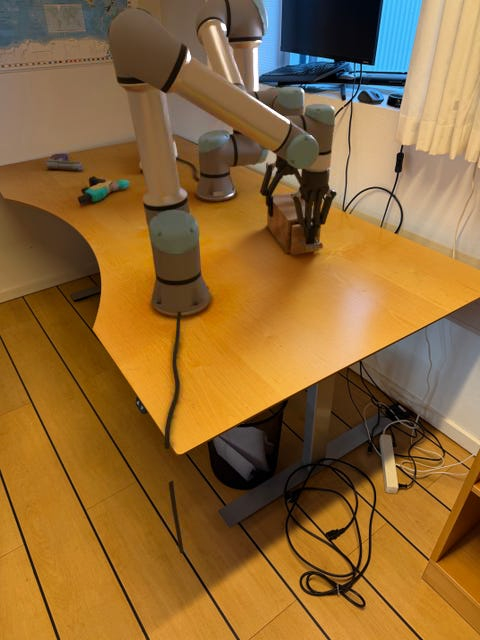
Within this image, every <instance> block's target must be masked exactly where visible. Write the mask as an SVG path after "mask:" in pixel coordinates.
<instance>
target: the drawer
mask: <svg viewBox="0 0 480 640" xmlns="http://www.w3.org/2000/svg"><path fill="white" fill-rule="evenodd" d="M311 225H313V224H312V220H311ZM321 228H322V225H320V228H319V229H318V235H317V237H315V240H314V244H306V238H305V237H304V227H303V228H302V227H301V226H300V225H299V224H298V222H292V223H291V230H290V248H291V250H290V253H289V254H290V255H300V254H307V253H313V252H319V250H320V249H323V248H324V244H323V242H320V240H321V231H322V230H321Z"/></svg>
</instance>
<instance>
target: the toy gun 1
mask: <svg viewBox="0 0 480 640" xmlns="http://www.w3.org/2000/svg"><path fill="white" fill-rule="evenodd" d="M83 164H84V163H82V162H80V161H71V160H70V161H69V154H68V153H67V152H60V153H55V154H52V155H51V156H50V159H46V162H45V164H44V166H45V167H46V168H47V169H49V170H62V171H63V170H64V171H65V170H67V171H82V168H84V165H83Z"/></svg>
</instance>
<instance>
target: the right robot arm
mask: <svg viewBox="0 0 480 640" xmlns="http://www.w3.org/2000/svg"><path fill="white" fill-rule="evenodd" d="M268 27H269V17H268V11H267V7H266V4H265V2H264V0H206V1H205V2H204V3H203V4H202V6H200V8H199V11H198V13H197V15H196V20H195V33H196V37H197V39H198V42H199V43H200V45H202V46H203V47H204V50H205V52H206V56H207V59H208V61H209V64H210V66H211V69H212V70H213V71H215V72H216V73H218V74H219V75H221V76H222V77H224V78H225V79H227V80H228V81H230V82H231V83H233V84H234V85H236V86H237V87H239V88H240V89H242V90H243V91H245V92H246V93H248V94H249V95H251V96H252V97H254V98H255V99H257V100H258V101H260V102H261V103H263V104H264V105H266V106H267V107H269V108H270V109H272V110H274V111H275V112H277V113H278V114H280V115H281V116H283V117H286V116H300V115H304V112H305V104H306V101H305V90H304V89H303V88H302V87H300V86H282V87H281V88H280V87H275V86H272V87H271V86H270V87H268V88H266V89H265V90H260V83H259V80H260V79H259V78H260V77H259V46H260V45H261V44H262V43H263V37H265V36H266V34H267V33H268ZM231 48H232V49H231ZM197 151H198V166H199V177H198V176H197V173H198V170H197V167H196V166H195V165H194V164H193V163H192V162H190V161H188V160H185V159H183V158H180V157H176V161H180V162H183V163H185V164H188V165H190V166H191V167H193V170H194V174H193V176H194V178H195V179H196V180H197V181H198V182H197V187H196V197H197V199H199V200H201V201H204V202H209V203H220V202H227V201H229V200H232V199H234V198H235V196H236V188H235V185H234V182H233V179H232V176H231V168H237V167H242V166H255V165H258V164H263V163H265V161H266V160H267V159H268V157H269V153H270V150H262V149H261V148H260V146H259V143H257V142H255V141H254V140H252V139H250V138H249V137H247V136H245V135H244V134H242V133H240V132H239V131H237V130H235V129H234V128H232V134H231V133H230V132H229V131H228V130H225V129H215V130H210V131H207V132H204V133H202V134H201V135H199V138H198V139H197ZM275 168H276V171H275V173H274V176H273V178H272V175H273V171H274V170H275ZM286 176H294V177H295V179H296V181H297V182H298V184H299V187H300V186H301V173H300V171H299V169H297V168H295V167H293V166H291V165H290V164H288V162H287V161H286V160H284V159H283V158H281V157H280V156H278V155H276V154H275V162H271V163H270V162H266V163H265V173H264V177H263V180H262V184H261V187H260V190H259V193H260V194H261V196H262V197H265V206H266V207H267V209H268V214H269V215H270V217H273V196H272V195H273V193H274V192H275V190H276V188H277V186H279V185H278V184H279V183H280V181H281V179H283V177H286ZM271 178H272V179H271ZM301 197H302V198H303V196H302V195H301ZM303 199H304V198H303ZM304 200H305V199H304Z"/></svg>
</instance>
